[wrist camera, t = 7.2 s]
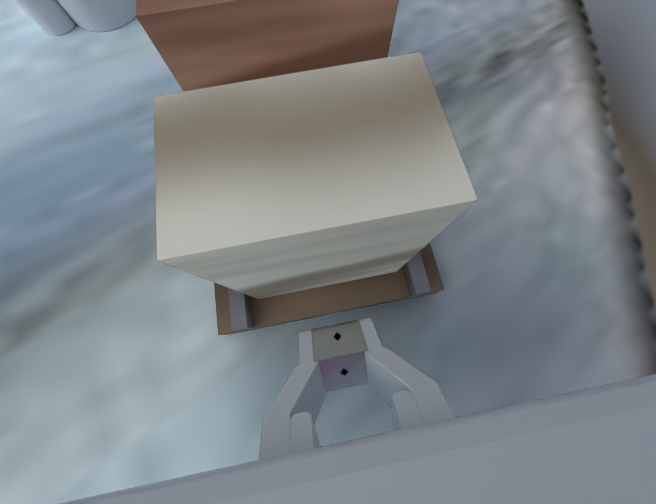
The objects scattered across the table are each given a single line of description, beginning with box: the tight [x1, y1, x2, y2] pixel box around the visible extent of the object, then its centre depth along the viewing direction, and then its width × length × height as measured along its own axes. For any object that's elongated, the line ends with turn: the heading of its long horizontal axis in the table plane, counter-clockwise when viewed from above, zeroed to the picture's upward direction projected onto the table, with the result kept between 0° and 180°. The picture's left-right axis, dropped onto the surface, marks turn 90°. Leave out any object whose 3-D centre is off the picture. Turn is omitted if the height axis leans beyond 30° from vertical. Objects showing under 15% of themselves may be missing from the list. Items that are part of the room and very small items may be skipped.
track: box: [136, 0, 444, 335], centre depth 15 cm, size 18×13×8 cm
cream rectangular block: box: [154, 52, 478, 299], centre depth 12 cm, size 5×8×9 cm, turn 101°
